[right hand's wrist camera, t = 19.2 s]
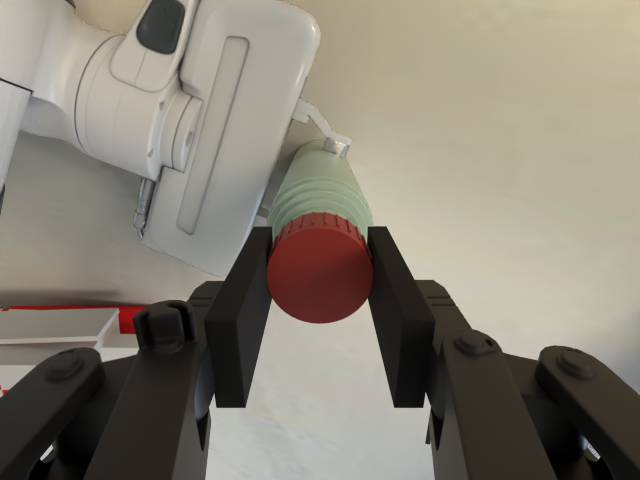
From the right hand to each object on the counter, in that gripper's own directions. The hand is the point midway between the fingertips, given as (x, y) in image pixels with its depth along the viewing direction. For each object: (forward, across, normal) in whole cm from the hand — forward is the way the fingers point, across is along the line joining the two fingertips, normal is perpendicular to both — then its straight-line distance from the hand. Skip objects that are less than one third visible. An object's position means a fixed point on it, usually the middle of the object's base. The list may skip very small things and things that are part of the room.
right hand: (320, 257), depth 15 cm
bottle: (+20, 0, 0) cm, 20 cm away
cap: (-2, 0, 0) cm, 2 cm away
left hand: (+14, -1, 0) cm, 14 cm away
